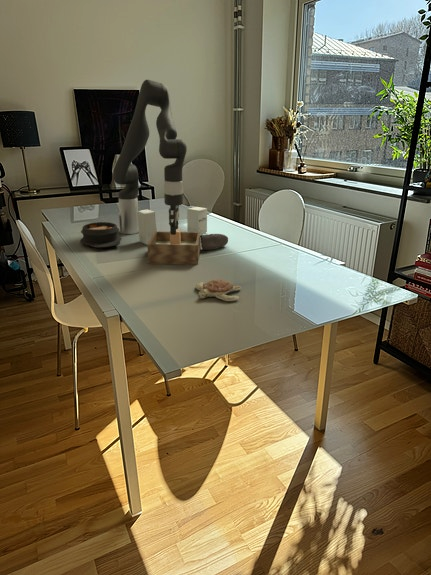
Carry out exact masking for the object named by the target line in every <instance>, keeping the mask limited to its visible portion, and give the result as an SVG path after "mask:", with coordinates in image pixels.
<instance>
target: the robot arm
mask: <svg viewBox="0 0 431 575" xmlns="http://www.w3.org/2000/svg"><path fill="white" fill-rule="evenodd" d="M138 93H139V94H138V97H137V101H136V106H135V109H134V112H133V116H132V119H131V122H130V125H129V128H128V130H127V134H126V137H125V140H124V144H123V146H122V149H121V152H120V154H119V155H118V158H117V161H116V163H115V164H114V168H113V171H112V178H113V182H115V184H117V185H123V186H124V185H125V186H124V188H122V190H120V191H119V192H118V194H117V196H118V205H119V206H118V207H119V214H118V220H119V222H118V223H119V233H120V234H125V235H133V234H138V233H139V227H138V217H137V211H139V201H138V200H139V199H138V198H139V197H138V195H139V172H138V168H137V166H136V165H135V164H133V163H132V162H133V161H134V160H135V159H136V158H137V157H138V156H139V155H140V153H142V151H143V150H144V149H145V147H146V145H147V143H148V140H149V138H150V129H149V124H148V120H147V117H146V111H147V106H153V107H157V108H158V107H159V109H160V112H159V114H158V115H157V117H156V121H155V123H156V124H155V126H156V130H157V134H158V137H159V145H158V146H159V147H158V153H159V155H160V157H162V158H163V159H166V160H167V159H168V160H171V159H175V161H174V162H173V163H171V164H167V165H166V166H164V169H163V170H164V172H163V173H164V174H163V176H164V177H163V178H164V183H163V184H164V185H163V194H164V196H163V197H164V199H163V200H164V205H166V206H170V207H169V208H168V225H169V226H170V231H169V232H170V234H171V235H176V230H179V218H180V207H179V206H181V205H183V204H184V184H183V168H184V162H185V160H186V159H185V158H186V155H187V144H186V142H185V141H184V140H183V139H177V137H178V133H177V132H178V131H177V129H176V126H175V122H174V120H173V116H172V115H173V113H172V106H171V98H170V92H169V87H168V86H167V85H166V84H164V83H162V82H158V81H155V80H151V79H145V80H143V82H142V84H141V86H140V88H139V92H138Z"/></svg>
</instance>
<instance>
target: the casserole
mask: <svg viewBox="0 0 431 575" xmlns="http://www.w3.org/2000/svg"><path fill="white" fill-rule="evenodd" d="M118 232H120V227H118V225H117V224H116V223H113V222H109V221H108V222H105V221H104V222H103V221H100V222H99V221H98V222H90V223H87V224H85V225H83V226H82V228H81V231H80V233H81V234H82V238H80V243H81V244H83V245H86V246H91V247H92V248H99V249H100V248H102V249H103V248H110V247H115V246H118V245H120V243H121V241H122V239H123V238H122V237H121V236H120V235H118Z"/></svg>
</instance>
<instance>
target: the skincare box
mask: <svg viewBox="0 0 431 575" xmlns="http://www.w3.org/2000/svg"><path fill="white" fill-rule="evenodd" d="M137 217H138V227H139V232H138V233H139V242H140V243H142V244H144V245H146V246H147V244H148V242H149V241H150V239H151V237H152V236H153V234H154V232H155V231H158V230H157V221H156V211H154V210H150V209H148V208H147V209H142V210H140V209H139V210H138V211H137Z"/></svg>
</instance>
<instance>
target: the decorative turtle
mask: <svg viewBox="0 0 431 575" xmlns="http://www.w3.org/2000/svg"><path fill="white" fill-rule="evenodd" d="M195 289H196V290H198V294H197V296H198V298H199V299H205V298H206V299H207V298H214V297H215V298H216V299H219V300H223V301H227V302H232V301H236V300H238V299H239V298H240V297H239V296H238V295H227V294H228V293H230V292H231V291H240V290H241V289H242V287H241V286H240V285H233V284H232V283H230V281H227V280H222V279H214V280H209V282H208V281H207V282H206V283H205V282H203V281H202V282H199V283H197V284H196V285H195Z"/></svg>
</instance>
